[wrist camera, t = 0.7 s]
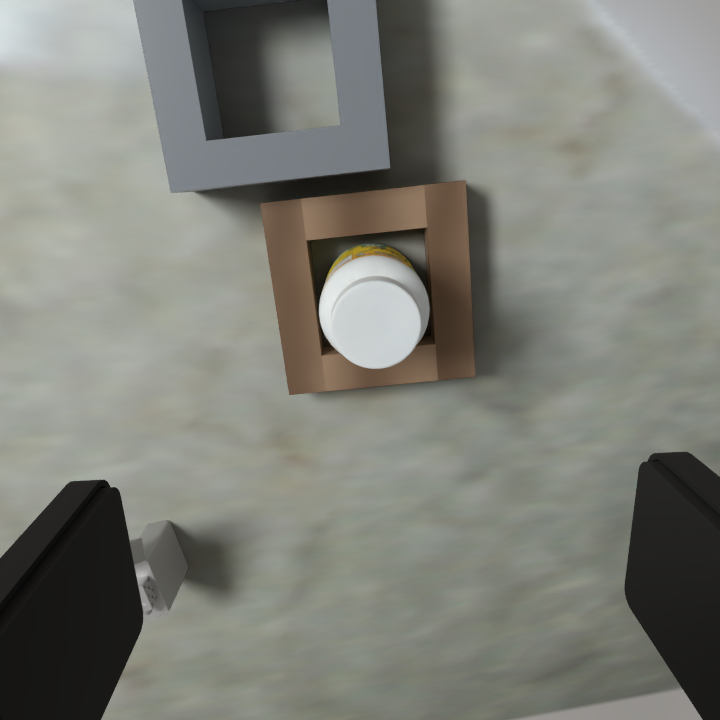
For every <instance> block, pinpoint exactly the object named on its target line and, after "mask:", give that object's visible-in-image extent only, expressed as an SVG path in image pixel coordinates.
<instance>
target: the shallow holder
mask: <svg viewBox="0 0 720 720" xmlns="http://www.w3.org/2000/svg"><path fill="white" fill-rule="evenodd" d="M260 206H261V212H262V219H263V225H264V232H265V239H266V245H267V252H268V258H269V265H270V271H271V278H272V284H273V291H274V298H275V304H276V311H277V317H278V324H279V330H280V337H281V343H282V350H283V357H284V363H285V370H286V376H287V383H288V389H289V395H294V394H304V393H314V392H324V391H335V390H345V389H355V388H365V387H375V386H385V385H396V384H406V383H416V382H426V381H436V380H446V379H457V378H467V377H476V375H475V355H474V335H473V315H472V295H471V275H470V256H469V236H468V216H467V196H466V180H465V181H453V182H444V183H435V184H426V185H417V186H408V187H399V188H390V189H381V190H372V191H363V192H354V193H345V194H336V195H327V196H318V197H309V198H300V199H291V200H282V201H273V202H265V203H260ZM417 228H424V239H425V253H426V267H427V281H428V294H429V307H430V322H431V336H423V337H422V338H421V340H420V341H419V343H418V344H417V345H416V346H415V348H414V350H413V351H412V352H411V353H410V354H409V355H408V356H407V357H406V358H405V359H404V360H402V361H401V362H399V363H397V364H396V365H393V366H391V367H387V368H382V369H370V368H364V367H361V366H358V365H356V364H354V363H352V362H351V361H349V360H348V359H347V358H345V357H344V356H343V355H342V354H341V353H339V352H338V351H337V350H336V349H335V348H334V347H333V346H324V344H323V336H322V328H321V323H320V317H319V305H318V298H317V290H316V282H315V275H314V267H313V259H312V251H311V244H310V240H316V239H325V238H334V237H343V236H353V235H362V234H371V233H380V232H389V231H399V230H408V229H417Z"/></svg>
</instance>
